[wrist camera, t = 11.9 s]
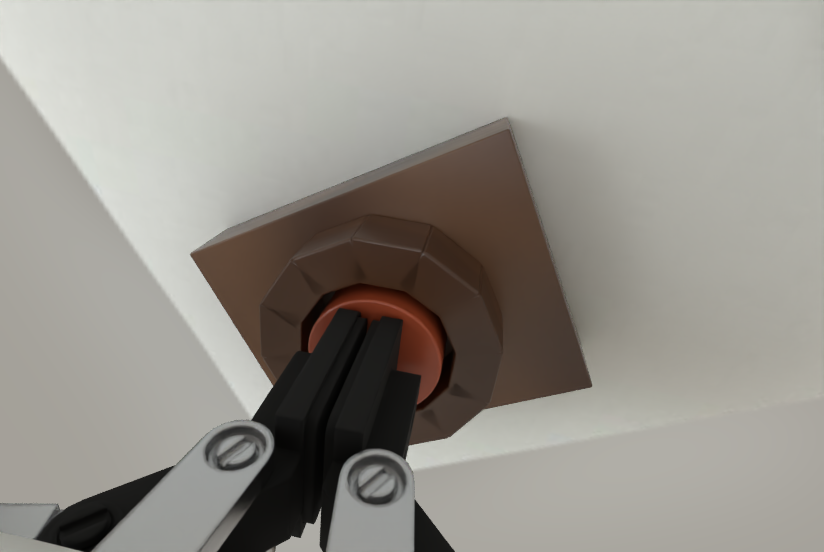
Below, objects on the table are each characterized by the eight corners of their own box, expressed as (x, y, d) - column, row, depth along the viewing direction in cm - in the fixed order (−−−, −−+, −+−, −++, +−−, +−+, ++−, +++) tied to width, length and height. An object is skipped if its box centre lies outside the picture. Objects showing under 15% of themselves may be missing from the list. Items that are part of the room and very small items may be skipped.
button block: (507, 116, 13) (511, 141, 9) (581, 345, 16) (605, 431, 12) (226, 229, 16) (149, 280, 12) (329, 404, 19) (291, 487, 15)
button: (419, 253, 13) (409, 282, 11) (465, 359, 14) (461, 398, 12) (307, 290, 14) (283, 321, 12) (359, 385, 15) (343, 424, 13)
